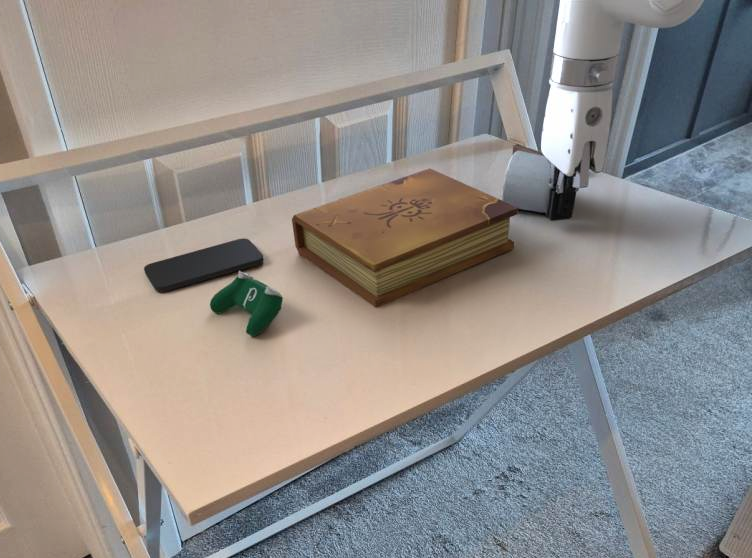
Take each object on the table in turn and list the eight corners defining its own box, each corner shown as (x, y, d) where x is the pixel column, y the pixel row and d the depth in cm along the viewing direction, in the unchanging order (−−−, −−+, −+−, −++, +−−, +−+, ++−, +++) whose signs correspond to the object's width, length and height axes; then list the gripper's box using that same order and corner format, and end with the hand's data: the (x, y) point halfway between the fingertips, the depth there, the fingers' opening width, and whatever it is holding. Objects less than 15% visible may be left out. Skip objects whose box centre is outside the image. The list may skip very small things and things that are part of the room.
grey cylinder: (554, 223, 96) (563, 167, 91) (498, 214, 99) (504, 160, 94) (572, 195, 103) (581, 142, 98) (519, 188, 106) (525, 136, 101)
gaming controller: (270, 346, 80) (294, 300, 79) (248, 335, 77) (273, 288, 76) (226, 317, 85) (248, 274, 84) (204, 306, 82) (226, 262, 81)
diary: (426, 205, 103) (426, 166, 99) (513, 249, 91) (518, 207, 87) (295, 252, 93) (290, 211, 90) (375, 307, 82) (373, 263, 78)
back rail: (581, 175, 108) (582, 166, 107) (576, 177, 108) (578, 167, 107) (516, 152, 117) (517, 143, 116) (512, 154, 116) (513, 145, 115)
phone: (141, 265, 91) (246, 236, 95) (143, 271, 91) (247, 242, 96) (156, 289, 86) (265, 257, 91) (157, 295, 87) (266, 263, 91)
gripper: (642, 83, 77) (608, 237, 89) (585, 51, 87) (562, 193, 100) (579, 90, 76) (554, 245, 88) (530, 57, 86) (513, 199, 99)
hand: (558, 217), depth 94 cm, fingers closed
